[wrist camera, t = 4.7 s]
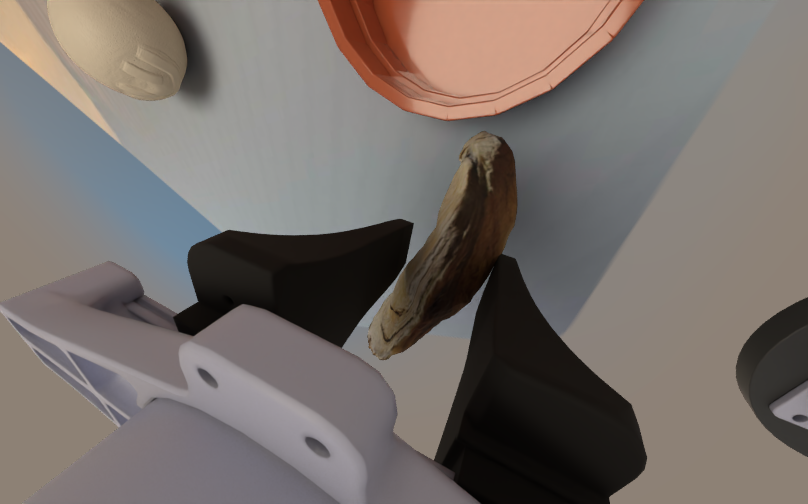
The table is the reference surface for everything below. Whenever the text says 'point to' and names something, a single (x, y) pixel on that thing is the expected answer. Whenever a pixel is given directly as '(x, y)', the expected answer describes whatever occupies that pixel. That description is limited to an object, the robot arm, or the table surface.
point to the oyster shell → (453, 248)
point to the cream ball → (122, 44)
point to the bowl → (471, 48)
